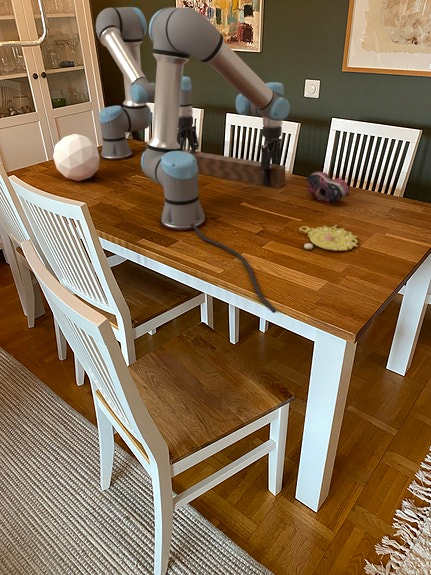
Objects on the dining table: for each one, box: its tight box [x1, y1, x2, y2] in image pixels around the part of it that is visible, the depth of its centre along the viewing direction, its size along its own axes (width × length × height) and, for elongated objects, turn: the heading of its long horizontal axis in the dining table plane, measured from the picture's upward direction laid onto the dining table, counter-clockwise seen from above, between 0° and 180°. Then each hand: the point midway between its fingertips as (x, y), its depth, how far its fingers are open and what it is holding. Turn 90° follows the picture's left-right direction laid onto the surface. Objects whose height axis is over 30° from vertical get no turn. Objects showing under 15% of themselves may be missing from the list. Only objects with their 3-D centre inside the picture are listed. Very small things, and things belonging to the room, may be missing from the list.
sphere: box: [52, 133, 101, 182], centre depth 194 cm, size 19×20×20 cm
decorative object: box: [299, 224, 359, 252], centre depth 141 cm, size 21×2×20 cm
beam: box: [182, 149, 286, 189], centre depth 195 cm, size 54×5×8 cm, turn 57°
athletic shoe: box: [304, 171, 351, 203], centre depth 169 cm, size 11×22×12 cm
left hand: (187, 166), depth 206 cm, fingers open, 9 cm apart
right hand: (269, 182), depth 186 cm, fingers closed on beam, 5 cm apart
